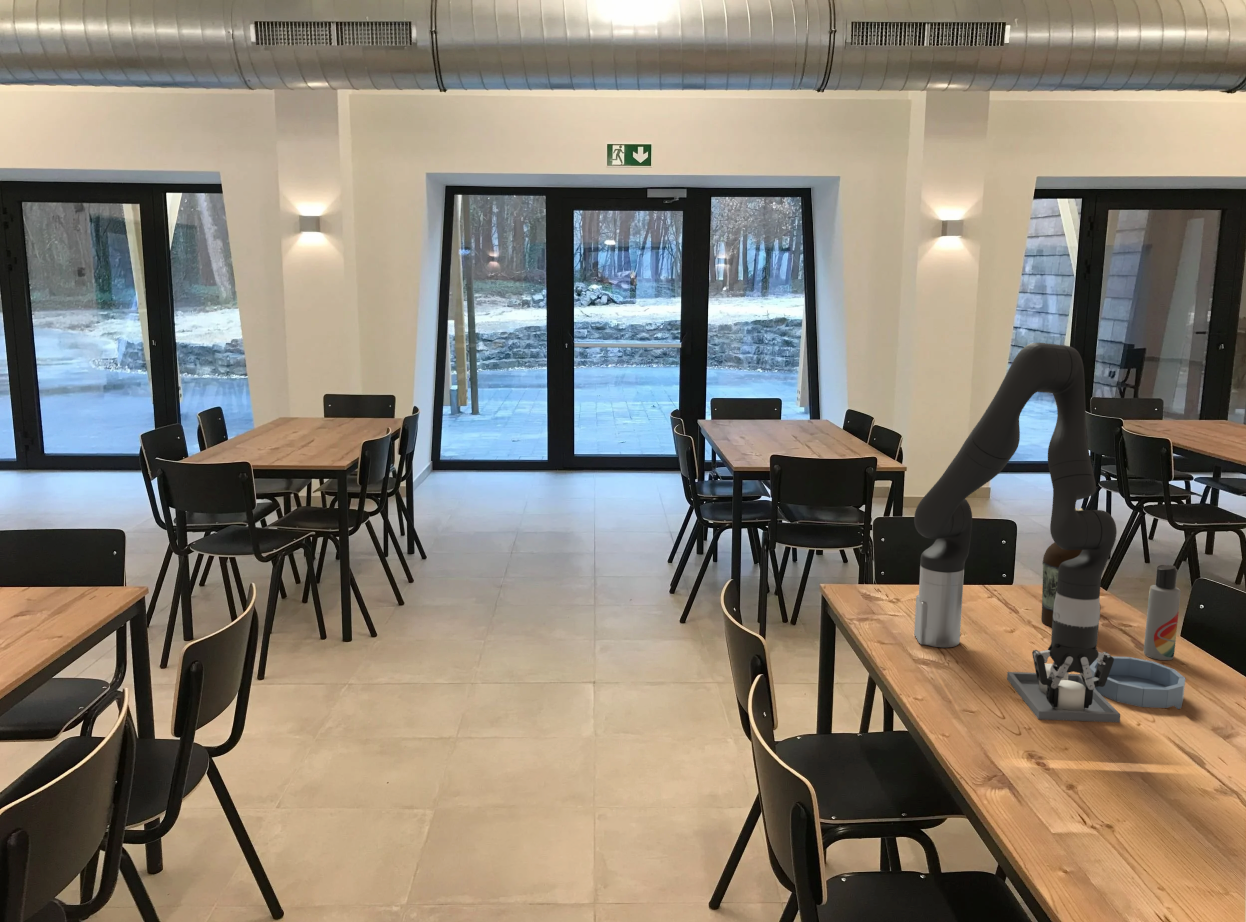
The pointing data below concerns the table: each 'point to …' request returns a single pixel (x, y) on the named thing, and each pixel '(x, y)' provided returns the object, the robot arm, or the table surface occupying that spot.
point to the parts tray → (1043, 710)
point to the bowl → (1142, 683)
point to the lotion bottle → (1162, 614)
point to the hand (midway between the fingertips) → (1068, 705)
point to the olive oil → (1052, 578)
